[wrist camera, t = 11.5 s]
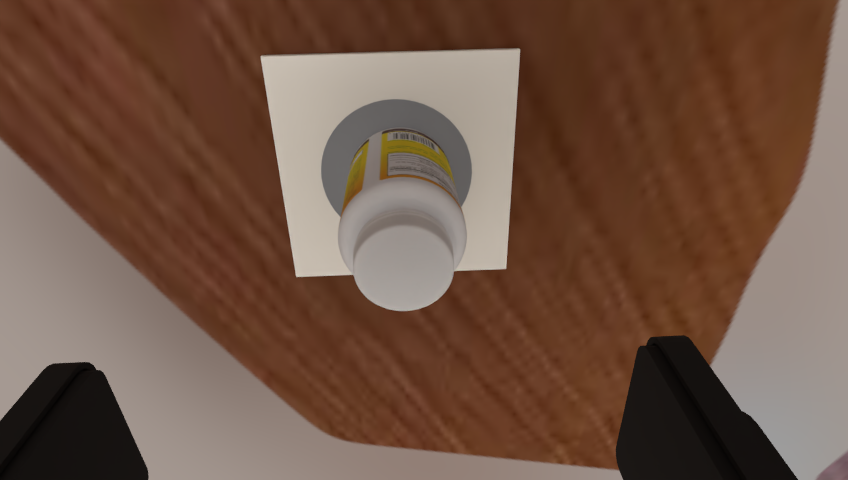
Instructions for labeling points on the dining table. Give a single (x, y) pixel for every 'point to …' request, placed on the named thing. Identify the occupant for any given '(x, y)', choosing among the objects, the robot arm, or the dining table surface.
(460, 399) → the dining table surface
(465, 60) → the card
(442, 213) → the supplement bottle
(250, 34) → the dining table surface
